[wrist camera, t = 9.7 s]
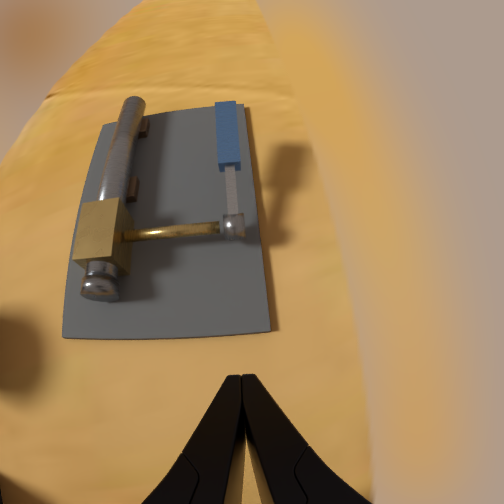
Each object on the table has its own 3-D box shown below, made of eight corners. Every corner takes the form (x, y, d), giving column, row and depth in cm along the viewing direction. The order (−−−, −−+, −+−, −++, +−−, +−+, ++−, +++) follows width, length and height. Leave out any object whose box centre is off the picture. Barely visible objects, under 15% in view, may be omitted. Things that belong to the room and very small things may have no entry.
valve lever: (247, 236, 22) (235, 100, 23) (222, 238, 22) (214, 102, 23) (246, 240, 24) (236, 112, 25) (224, 242, 24) (216, 114, 25)
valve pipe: (225, 296, 23) (220, 279, 19) (92, 303, 23) (68, 289, 19) (216, 105, 32) (214, 79, 29) (125, 119, 32) (116, 95, 28)
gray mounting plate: (270, 332, 22) (270, 330, 22) (65, 338, 22) (61, 337, 21) (243, 107, 33) (243, 103, 33) (104, 128, 32) (103, 124, 32)
